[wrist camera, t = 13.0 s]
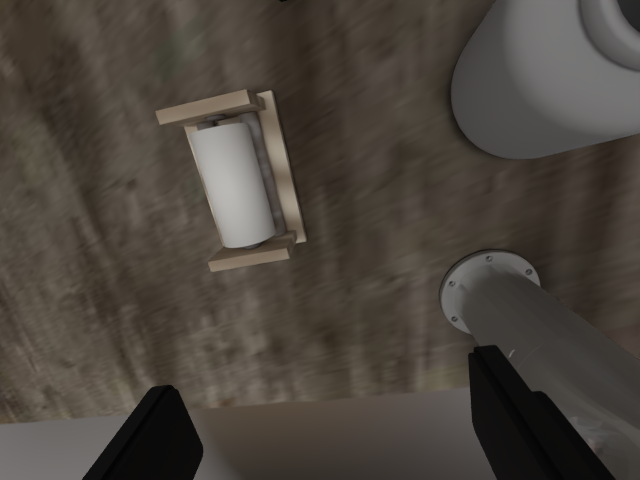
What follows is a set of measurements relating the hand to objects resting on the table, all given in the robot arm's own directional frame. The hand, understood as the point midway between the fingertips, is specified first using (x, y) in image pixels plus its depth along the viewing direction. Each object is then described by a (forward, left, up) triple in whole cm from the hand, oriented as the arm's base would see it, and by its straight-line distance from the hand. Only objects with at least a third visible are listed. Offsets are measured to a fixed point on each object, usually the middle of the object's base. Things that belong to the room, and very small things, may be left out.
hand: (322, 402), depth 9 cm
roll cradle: (+5, +10, -30) cm, 32 cm away
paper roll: (+5, +10, -28) cm, 30 cm away
